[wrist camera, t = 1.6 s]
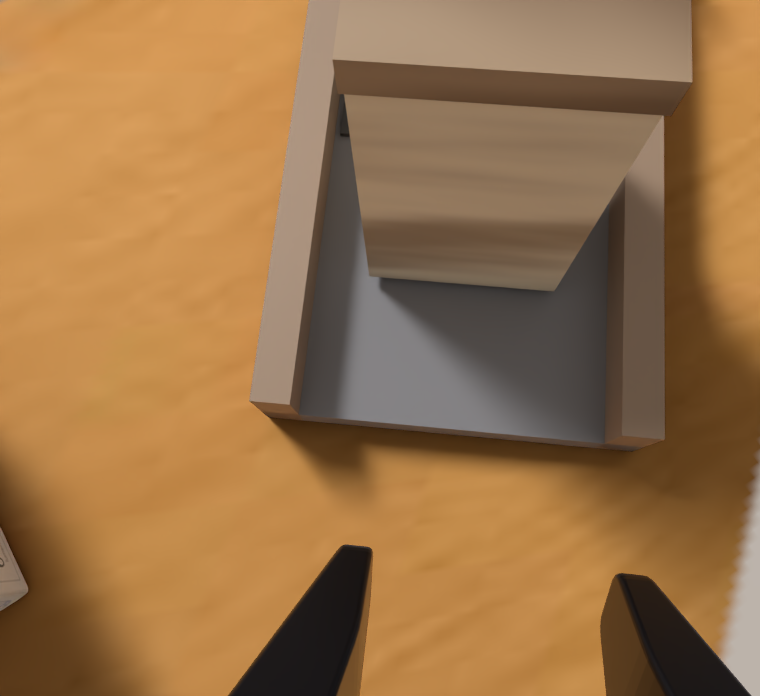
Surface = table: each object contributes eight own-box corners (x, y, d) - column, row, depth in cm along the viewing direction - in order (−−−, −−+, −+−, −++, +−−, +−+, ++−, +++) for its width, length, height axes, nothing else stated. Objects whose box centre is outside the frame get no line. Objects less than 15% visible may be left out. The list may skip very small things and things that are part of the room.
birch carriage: (557, 294, 23) (692, 82, 12) (365, 279, 23) (332, 59, 12) (562, 150, 24) (688, -157, 13) (381, 138, 24) (363, -171, 14)
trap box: (631, 451, 23) (692, 429, 18) (268, 417, 23) (233, 387, 19) (636, -73, 28) (684, -199, 23) (339, -88, 29) (326, -214, 24)
